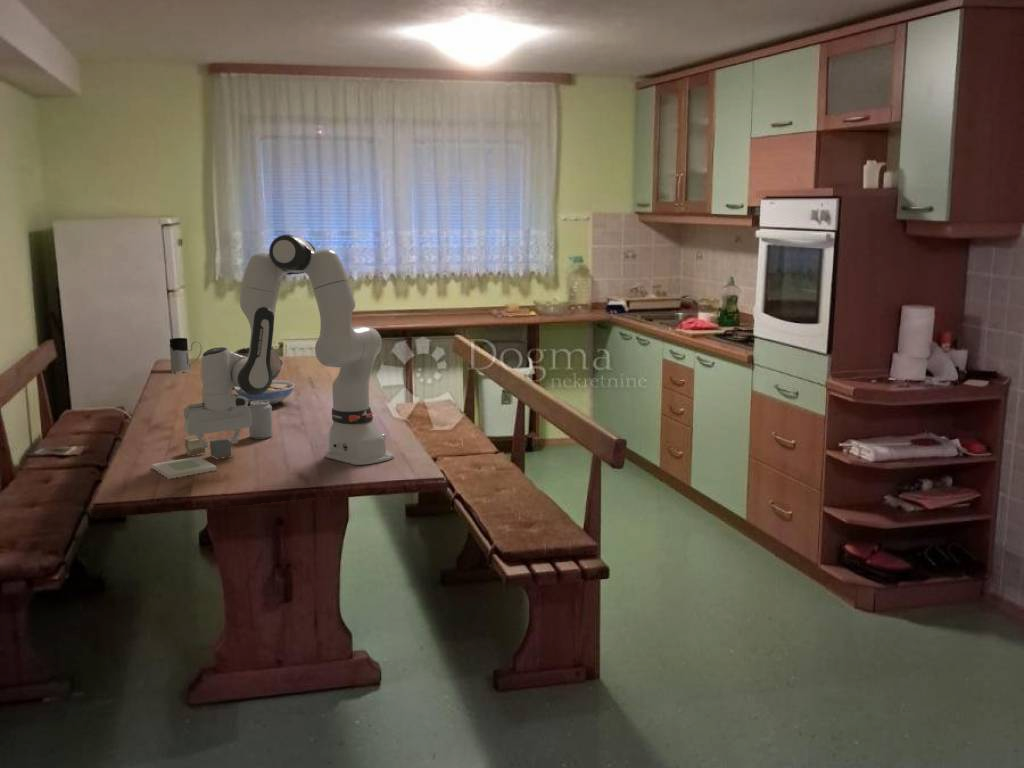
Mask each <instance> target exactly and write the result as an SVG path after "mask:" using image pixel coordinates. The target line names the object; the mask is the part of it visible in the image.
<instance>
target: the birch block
mask: <svg viewBox="0 0 1024 768" xmlns="http://www.w3.org/2000/svg"><path fill="white" fill-rule="evenodd" d="M202 438H203V440H204V441H206V440H205V438H204V437H202ZM183 439H184V453H187V454H189V455H190V456H189V455H188V456H189V457H191V456H192V455H197V454H201V453H205V454H206V448H202V447H201V441H200V440H199V439H198V437H197V435H196V436H195V435H194V436H189V437H184V438H183ZM187 454H186V455H187ZM197 456H198V455H197ZM192 457H193V456H192Z"/></svg>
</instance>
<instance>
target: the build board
mask: <svg viewBox="0 0 1024 768" xmlns="http://www.w3.org/2000/svg"><path fill="white" fill-rule="evenodd" d="M152 468H153V469H152ZM217 468H218V467H217V466H216V465H215V464H213V463H211V462H209V461H207V460H206V459H204V458H202V457H200V455H197V456H192V457H187V458H181V459H175V460H169V461H163V462H158V463H153V464H151V469H152V470H154V469H155V470H156V471H155V472H157V471H158V472H157V473H159V474H160V473H161V474H160V475H161V476H163V475H164V476H163V477H165V478H166V477H167V478H166V479H167V480H171V478H172V479H177V478H176V477H178V478H183V477H188V476H187V475H189V476H193V474H194V475H197V474H198V473H200V474H204V473H203V472H205V473H210V472H209V471H211V472H215V470H216V471H218V470H217ZM198 475H199V474H198ZM182 476H183V477H182Z"/></svg>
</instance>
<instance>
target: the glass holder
mask: <svg viewBox="0 0 1024 768" xmlns="http://www.w3.org/2000/svg"><path fill="white" fill-rule="evenodd" d="M195 343H198V344H199V345H200V351H199V355H198V356H197V358H195V359H194V360H193V361H192V362H191V363H190V357H189V354H190V353H189V352H192V350H193V345H194V344H195ZM190 347H191V349H188V348H189V346H188V338H187V337H175V338H170V339H169V355H170V356H169V357H170V368H171V369H170V373H171V372H186V371H191V365H192V364H193V363H195V362H196V361H197V360H198V359H199V358H200V356H201V354H202V349H203V348H202V343H200V342H199V341H193V342H192V343H191V345H190Z"/></svg>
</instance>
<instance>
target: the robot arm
mask: <svg viewBox="0 0 1024 768" xmlns="http://www.w3.org/2000/svg"><path fill="white" fill-rule="evenodd" d="M298 274H299V275H300V274H306V275H307V276H308V278H309V280H310V284H311V287H312V290H313V295H314V297H315V301H316V305H317V309H318V311H319V318H320V330H319V331H320V332H319V337H318V339H317V340H316V343H315V346H314V352H315V353H314V354H315V357H316V359H317V361H318V362H319V363H320V364H321V365H323V366H325V367H330V368H339V372H338V375H337V376H336V377H335V379H334V381H333V383H332V409H331V420H332V425H331V427H329V431H328V445H327V446H328V447H327V450H328V451H326V452H324V457H325V458H328V459H331V460H332V459H333V460H336V461H339V462H343V463H347V464H349V465H353V466H354V465H355V466H360V465H369V464H370V465H371V464H376V463H377V464H378V463H381V462H385V461H390V460H392V459H394V458H395V456H394V453H392V452H391V451H389V450H388V449H387V448H386V447H387V446H386V434H385V433H381V431H380V430H379V428H378V427H377V425H376V424H375V422H374V421H373V420H374V418H373V417H374V416H373V415H374V412H373V411H372V409H371V407H370V379H371V374H372V369H373V366H374V362H375V360H376V358H377V356H378V355H379V354H380V352H381V349H382V346H383V340H382V336H381V335H380V333H379V331H378V330H377V329H375V328H374V327H370V326H364V325H359V326H353V324H352V316H353V315H352V314H353V312H354V309H355V307H356V301H355V298H354V294H353V291H352V288H351V284H350V282H349V279H348V278H349V277H348V275H347V272H346V269H345V267H344V265H343V263H342V260H341V259H340V257H339V255H338V254H337V252H336V251H334V250H332V249H320V250H316V249H315V247H314V245H313V244H312V243H311V242H310V241H308V240H305V239H304V238H303V237H301V236H297V235H293V234H282V235H279V236H277V237H276V238H274V239H273V241H272V242H271V244H270V246H269V251H268V253H265V252H258V253H256V254H253V255H252V256H251V257H250V258H249V261H248V263H247V265H246V268H245V271H244V274H243V279H242V284H241V288H240V296H239V301H240V302H239V303H240V305H239V306H240V310H241V312H242V313H243V314H244V315H245V317H246V319H247V321H248V323H249V326H250V339H249V347H248V348H249V356H248V357H246V356H242V355H239V354H236V353H235V352H233V350H232V351H231V350H230V349H228V348H227V347H223V346H222V347H213V348H210V349H207V350H206V351H205V352H203V354H202V356H201V361H200V362H201V363H200V379H201V382H202V389H201V400H202V401H201V402H199V403H194V404H193V403H192V404H188V405H187V406H186V407H184V409H183V417H184V424H183V425H184V432H185V433H186V434H187V435H189V436H195V435H196V436H197V437H198V439H199V440H200V441H201V447H202V448H205V449H206V448H208V447H209V446H208V444H209V443H208V441H206V440H205V441H204V440H203V438H204V437H205V434H210V433H219V432H224V431H225V432H226V431H232V430H233V431H234V434H233V436H230V443H231V444H237V443H238V442H239V441H238V438H239V436H240V435H241V432H242V430H241V429H246V428H249V427H250V426H251V424H252V416H251V410H250V408H249V406H248V405H249V402H248V399H247V398H245V397H243V396H240V395H238V394H235V393H233V389H234V387H239V388H241V389H242V390H244V391H245V392H246V393H248V394H250V395H259V394H262V393H264V392H265V391H266V390H268V388H269V387H270V386H271V383H272V380H274V379H273V374H272V370H271V365H270V356H271V348H273V346H272V345H273V339H274V338H273V336H274V325H275V314H276V308H277V307H276V306H277V303H278V296H279V291H280V286H281V281H282V279H283V277H284V276H285V275H287V276H290V275H298Z"/></svg>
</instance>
